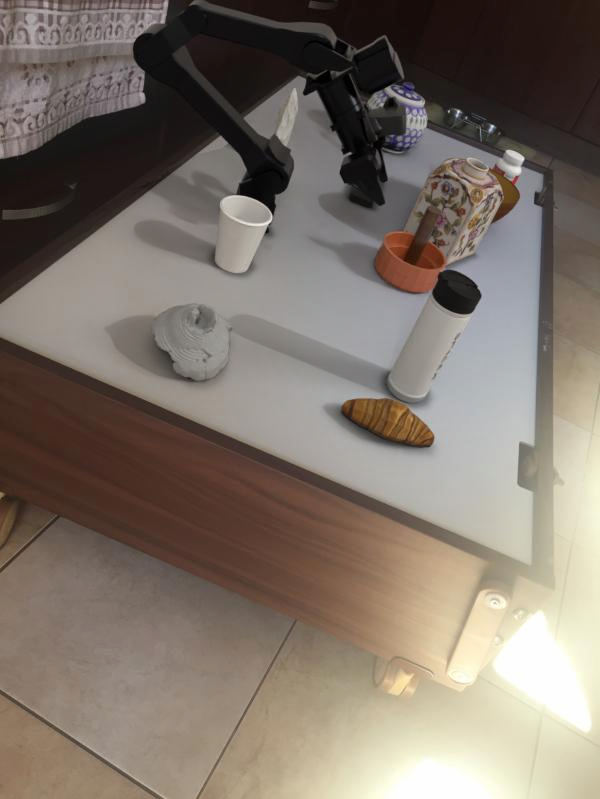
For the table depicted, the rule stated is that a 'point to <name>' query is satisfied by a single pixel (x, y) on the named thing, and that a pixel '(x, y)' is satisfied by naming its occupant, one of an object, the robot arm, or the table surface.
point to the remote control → (360, 198)
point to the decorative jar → (458, 206)
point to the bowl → (504, 195)
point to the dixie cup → (240, 232)
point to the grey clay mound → (193, 339)
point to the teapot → (414, 116)
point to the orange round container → (403, 272)
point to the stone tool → (287, 117)
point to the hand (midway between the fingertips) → (383, 193)
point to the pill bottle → (510, 165)
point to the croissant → (389, 420)
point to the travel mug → (433, 336)
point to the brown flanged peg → (422, 235)
